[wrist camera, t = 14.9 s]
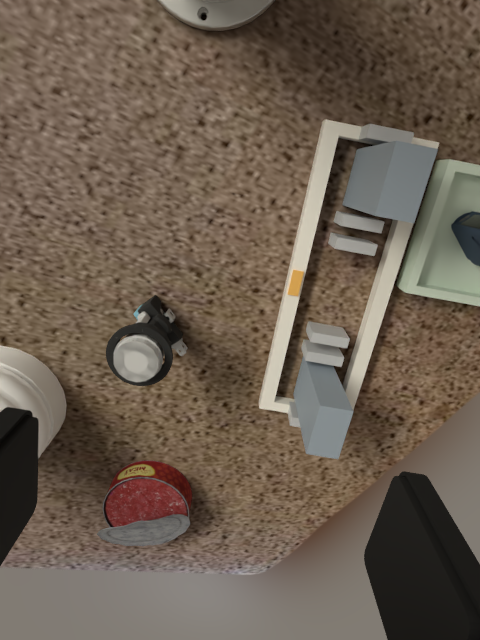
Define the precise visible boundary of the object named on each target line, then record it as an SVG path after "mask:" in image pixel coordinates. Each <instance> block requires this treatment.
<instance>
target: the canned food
mask: <svg viewBox="0 0 480 640" xmlns="http://www.w3.org/2000/svg"><path fill="white" fill-rule="evenodd" d="M191 501H192V490H191V487H190V484H189V482H188V481H187V479H186V478H185V477H184V475H183V474H182V473H181V472H179V471H178V470H177V469H176V468H174V467H172V466H170V465H168V464H165V463H162V462H158V461H149V460H144V461H137V462H134V463H131V464H128V465H127V466H125V467H123V468H122V469H121V470H120V471H118V472H117V474H116V475H115V477H114V478H113V481H112V483H111V486H110V488H109V490H108V493H107V495H106V496H105V499H104V502H103V514H104V517H105V520H106V522H107V524H108V525H109V527H110V528H106V529H102V530H100V531H99V532H98V533H97V535H98V536H99V537H100V538H101V539H103V540H106V541H108V542H110V543H114V544H121V545H125V546H133V545H137V546H146V545H157V544H163V543H166V542H169V541H171V540H173V539H175V538H176V537H178V536H179V535H181V534H182V533H184V532H186V530H187V528H188V527H189V525H190V520H189V513H190V507H191Z"/></svg>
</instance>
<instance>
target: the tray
mask: <svg viewBox="0 0 480 640" xmlns="http://www.w3.org/2000/svg"><path fill="white" fill-rule="evenodd" d="M471 211H474V212H480V165H476V164H471V163H466V162H461V161H457V160H452V159H445V160H436V163H435V166H434V169H433V172H432V175H431V178H430V181H429V185H428V188H427V191H426V194H425V197H424V200H423V203H422V206H421V209H420V212H419V215H418V219H417V222H416V225H415V228H414V231H413V234H412V237H411V240H410V243H409V246H408V249H407V253H406V256H405V259H404V262H403V265H402V268H401V271H400V274H399V277H398V280H397V283H396V286H397V287H398V288H400V289H401V290H402V291H404V292H405V293H410V294H415V295H421V296H426V297H431V298H437V299H442V300H448V301H453V302H459V303H464V304H469V305H475V306H480V266H477V265H475V264H473V263H472V262H471V260H469V259H467V257H466V256H465V254H464V252H463V250H462V248H461V246H460V244H459V242H458V240H457V238H456V236H455V235H454V233H453V231H452V228H451V224H453V223H454V221H455V220H456V219H457V218H458V217H460V216H461V215H463V214H465V213H469V212H471Z"/></svg>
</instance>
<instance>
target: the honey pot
mask: <svg viewBox="0 0 480 640" xmlns="http://www.w3.org/2000/svg"><path fill="white" fill-rule="evenodd" d="M6 407H11V408H18V409H24V410H30V411H31V412H32V414H33V417H36V418H38V421H39V432H38V458H39V457H40V456H41V454H42V453H43V452H44V450H45V449H46V448H47V446H48V445H49V444H50V442H51V441H52V440H53V438H54V437H55V435H56V434H57V433H58V431H59V430H60V429H61V426H62V424H63V422H64V420H65V417H66V407H67V404H66V399H65V394H64V390H63V388H62V386H61V384H60V383H59V381H58V379H57V377H56V376H55V375H54V374H53V373H52V371H51V370H50V369H49V368H48V367H47V366H46V365H45V364H43V363H42V362H41V361H39V360H38V359H37V358H35V357H34V356H32V355H30V354H28V353H25V352H23V351H21V350H19V349H15V348H10V347H5V346H0V412H1V411H2V410H3V409H5V408H6Z"/></svg>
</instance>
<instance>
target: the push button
mask: <svg viewBox="0 0 480 640" xmlns="http://www.w3.org/2000/svg"><path fill="white" fill-rule="evenodd" d="M170 312H171V313H172V315H173V316H172V315H171V313H170ZM134 316H135V317H136V318H137V320H138V321H137V322H136V323H135V324H133V325H128V326H125V327H123V328H121V329H119V330H118V331H117V332H116V333H115V334H114V335H113V336H112V337H111V339H110V340H109V342H108V345H107V348H106V358H107V362H108V365H109V367H110V368H111V370H112V371H113V373H114V374H115V375H116V376H117V377H118V378H120V379H121V380H123V381H124V382H127V383H129V384H132V385H137V386H148V385H152V384H155V383H157V382H159V381H160V380H162V379H163V378H164V377H165V376H166V375H167V373H168V372H169V370H170V368H171V365H172V360H173V353H172V349H175V350H176V351H177V352H178V354H179V355H180V356H182V355H184V354H185V353H186V352H187V351H186V350H187V349H188V347H187V346H186V345H185V344H184V343H183V341H182V340H183V339H182V336H183V334H182V332H181V331H180V329H179V328H178V327H177V326H176V325H175V323H174V322H173V321H174V319H175V317H176V316H175V314H174V313H173V312H172V311H171V309H168V310H167V312H165V311H164V310H163V308H162V307H161V300H160V299H159V298H158V297H157V296H156V295H155V296H154V297H152V298H151V299H149V300H148V301H147V302H145V303H144V304H142V305H141V306H140V307H139V308H138V309H137V310H136V311H135V313H134ZM125 335H127V336H126V337H125V338H124V339H123V340H121V341H120V339H121V338H122V337H123V336H125ZM119 341H120V342H119ZM182 345H183V346H184V348H183V347H182ZM171 347H172V349H171ZM179 349H180V351H181V352H179ZM164 354H165V362H164V364H163V365H162V362H163V357H164Z"/></svg>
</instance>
